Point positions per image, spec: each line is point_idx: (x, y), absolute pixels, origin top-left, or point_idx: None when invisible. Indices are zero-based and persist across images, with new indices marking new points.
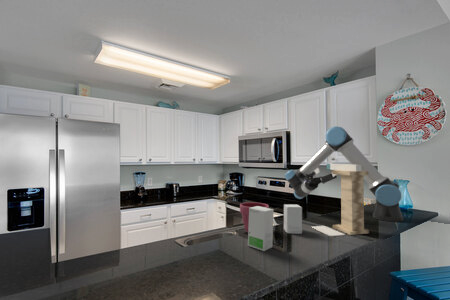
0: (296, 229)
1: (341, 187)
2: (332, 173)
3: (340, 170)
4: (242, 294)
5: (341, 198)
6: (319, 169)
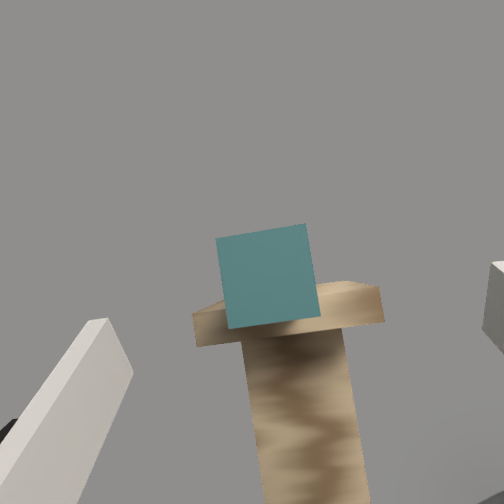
0: None
1: (355, 413)
2: (383, 316)
3: (327, 290)
4: None
5: (369, 498)
6: (489, 291)
